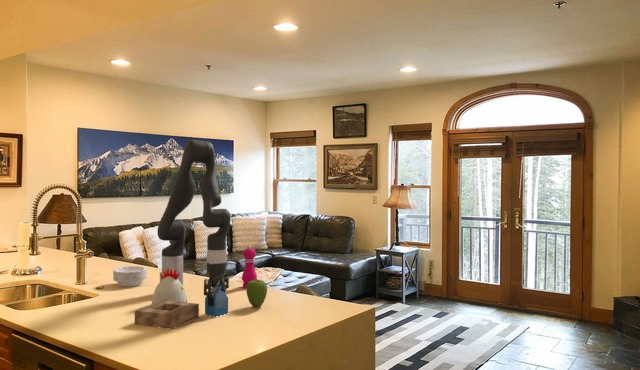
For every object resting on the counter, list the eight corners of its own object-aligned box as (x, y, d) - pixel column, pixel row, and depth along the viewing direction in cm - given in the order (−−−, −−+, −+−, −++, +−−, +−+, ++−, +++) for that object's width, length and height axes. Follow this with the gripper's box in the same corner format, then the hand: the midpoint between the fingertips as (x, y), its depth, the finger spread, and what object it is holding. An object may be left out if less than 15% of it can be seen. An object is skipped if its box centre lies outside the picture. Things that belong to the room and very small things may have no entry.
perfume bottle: (217, 311, 196) (217, 280, 196) (228, 313, 192) (228, 282, 192) (204, 314, 191) (204, 283, 191) (215, 317, 188) (215, 285, 187)
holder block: (134, 324, 178) (134, 310, 178) (163, 312, 193) (163, 300, 193) (172, 329, 172) (172, 314, 172) (198, 317, 188) (198, 303, 187)
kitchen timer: (177, 310, 197) (177, 272, 196) (145, 308, 200) (145, 271, 199) (192, 301, 210) (193, 266, 210) (162, 300, 213) (162, 265, 213)
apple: (244, 305, 204) (244, 277, 204) (264, 303, 207) (264, 276, 207) (248, 311, 196) (248, 281, 196) (269, 309, 199) (269, 280, 199)
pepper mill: (238, 287, 237) (238, 245, 237) (247, 284, 243) (247, 243, 243) (251, 289, 234) (251, 246, 233) (259, 286, 240) (260, 244, 240)
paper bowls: (136, 289, 234) (136, 272, 233) (106, 287, 236) (106, 271, 236) (152, 282, 249) (152, 266, 248) (124, 281, 251) (124, 265, 251)
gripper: (217, 257, 199) (217, 298, 200) (197, 263, 186) (197, 306, 186) (234, 258, 197) (234, 299, 197) (215, 264, 184) (215, 308, 184)
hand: (216, 303), depth 192 cm, fingers open, 8 cm apart
